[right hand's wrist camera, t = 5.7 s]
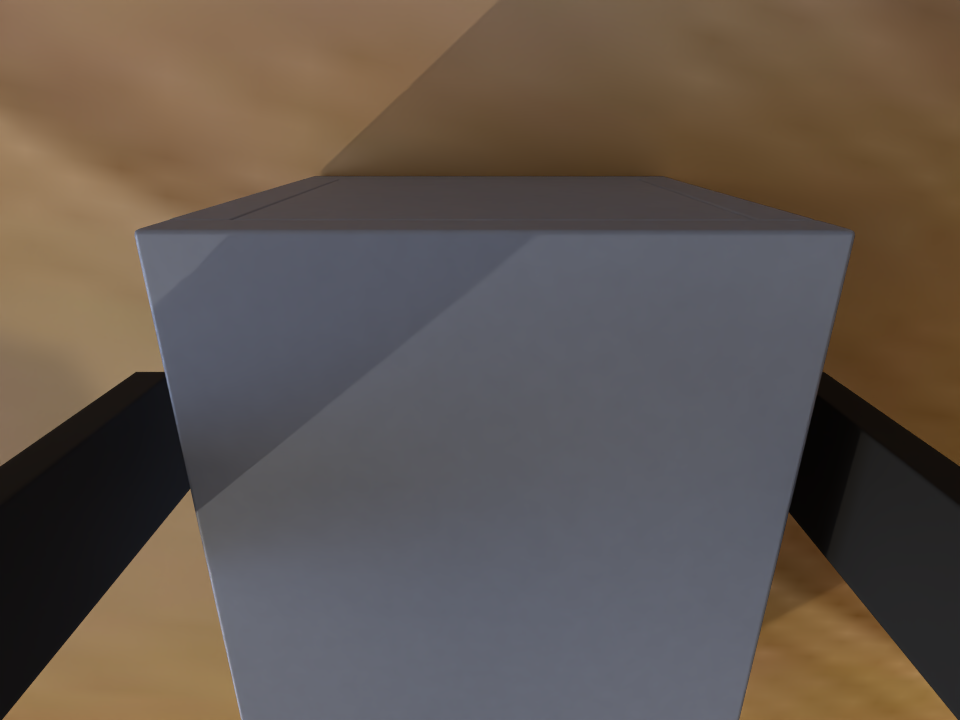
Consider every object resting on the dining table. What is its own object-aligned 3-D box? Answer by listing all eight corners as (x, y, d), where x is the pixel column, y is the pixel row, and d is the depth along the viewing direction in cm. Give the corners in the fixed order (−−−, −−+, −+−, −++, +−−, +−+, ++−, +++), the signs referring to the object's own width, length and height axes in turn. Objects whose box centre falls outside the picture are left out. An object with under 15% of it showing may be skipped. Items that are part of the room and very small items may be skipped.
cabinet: (611, 642, 24) (686, 945, 15) (360, 641, 24) (288, 942, 15) (664, 176, 17) (858, 230, 8) (313, 176, 17) (130, 229, 8)
